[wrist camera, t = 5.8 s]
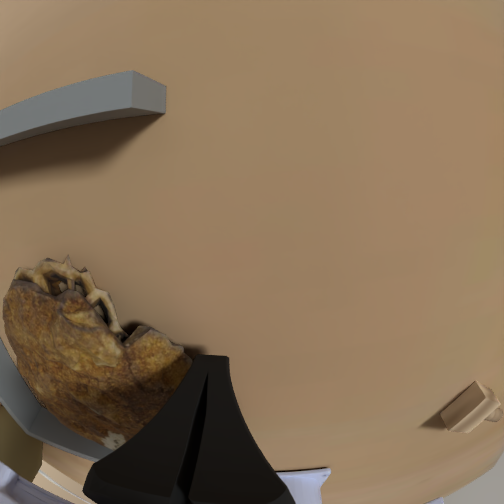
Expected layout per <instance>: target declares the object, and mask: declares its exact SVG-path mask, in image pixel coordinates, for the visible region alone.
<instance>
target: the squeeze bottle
mask: <svg viewBox="0 0 504 504" xmlns="http://www.w3.org/2000/svg"><path fill="white" fill-rule="evenodd" d="M42 448H43V442H42V441H40V440H38V439H36V438H34V437H32V436H30V435H28V434H26V433H25V432H24V431H23V429H22V428H21V427H20V426H19V425H18V424H17V422H16V421H15V420H14V419H13V418H12V416H11V415H10V414H9V413H8V411H7V410H6V409H5V407H4V406H3V405H2V406H0V461H1V462H3V463H4V464H6V465H7V466H8V467H10V468H11V469H12V470H14V471H15V472H16V473H17V474H18V475H19V476H21V477H23V478H24V479H26V480H28V481H29V482H31V483H32V482H33V479H34V478H35V476H36V474H37V473H38V471H39V469H40V467H41V465H42Z"/></svg>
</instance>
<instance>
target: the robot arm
mask: <svg viewBox="0 0 504 504" xmlns="http://www.w3.org/2000/svg"><path fill="white" fill-rule="evenodd" d="M330 473H331V469H329V468H326V469H317V470H307V471H295V472H277V473H276V472H275V471H274V469H273V468H272V467H271V465H270V464H269V463H268V461H267V460H266V458H265V457H264V455H263V453H262V452H261V450H260V449H259V447H258V446H257V444H256V442H255V440H254V439H253V437H252V435H251V433H250V431H249V429H248V427H247V425H246V423H245V420H244V418H243V416H242V413H241V411H240V408H239V406H238V403H237V400H236V397H235V393H234V390H233V387H232V382H231V377H230V369H229V358H228V357H227V356H217V355H200V354H198V355H196V356H195V358H194V360H193V362H192V364H191V366H190V368H189V370H188V371H187V373H186V375H185V376H184V378H183V379H182V381H181V382H180V384H179V385H178V387H177V388H176V390H175V391H174V393H173V394H172V395H171V397H170V398H169V399H168V401H167V402H166V403H165V404H164V406H163V407H162V408H161V409H160V410H159V412H158V413H157V414H156V415H155V416H154V417H153V418H152V419H151V420H150V421H149V422H148V423H147V424H146V425H145V426H144V427H143V428H142V429H141V430H140V431H139V432H138V433H137V434H135V435H134V436H133V437H132V438H131V439H129V440H128V441H127V442H126V443H124V444H123V445H122V446H120V447H119V448H118V449H116V450H115V451H113V452H112V453H110V454H109V455H107V456H105V457H104V458H102V459H100V460H99V461H97V462H95V463H94V464H93V465H92V467H91V469H90V471H89V473H88V475H87V477H86V481H85V484H84V487H83V490H82V491H83V493H84V494H85V495H86V496H87V497H88V498H90V499H91V500H92V501H94V502H95V503H97V504H322V500H321V492H320V487H321V485H322V484H323V483H324V481H325V480H326V479H327V477H328V476H329V475H330ZM0 504H74V503H71V502H69V501H67V500H65V499H63V498H60V497H58V496H56V495H54V494H52V493H50V492H48V491H46V490H44V489H42V488H40V487H38V486H37V485H35V484H33V483H31V482H29V481H28V480H26V479H24V478H23V477H21V476H19V475H18V474H17V473H16V472H15V471H14V470H12V469H11V468H10V467H8V466H7V465H6V464H4V463H3V462H1V461H0ZM424 504H444V501H443V498H442V497H439V498H436V499H434V500H432V501H429V502H427V503H424Z"/></svg>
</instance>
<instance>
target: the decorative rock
mask: <svg viewBox="0 0 504 504" xmlns="http://www.w3.org/2000/svg"><path fill="white" fill-rule="evenodd" d="M61 281H62V282H64V283H65V284H67V285H68V290H66V291H64V292H63V293H61V291H60V288H59V286H58V285H59V284H60V282H61ZM75 284H77V285H80V286H81V287H82V289H83V290H84V292H85V294H86V297H84V296H83V295H82V294H81V293H80V292H79V291H76V289H75ZM97 305H100V306H102V308H103V310H104V312H105V315H106V318H107V320H108V324H106V323H105V322H104V321H103V319H102V318H101V317H100V316H99V315H98V314H97V312H96V311H95V310H94V309H93V308H94V307H96V306H97ZM3 320H4V322H5V325H4V327H5V333H6V335H7V337H8V340H9V343H10V345H11V347H12V349H13V350H14V352H15V354H16V356H17V369H18V371H19V373H20V374H21V375H23V376H24V377H26V378H27V379H28V381H29V384H30V386H31V387H32V388H33V391H34V392H35V394H36V395H37V396H38V400H41V401H43V402H44V404H45V406H46V408H47V410H48V411H49V412H50V413H52V414H53V415H54V416H55V417H56V418H57V419H58V420H59V421H60V423H62V424H63V425H64V426H66V427H67V428H69V429H71V430H72V431H73V432H75V433H77V434H79V435H80V436H82V437H84V438H86V439H89V440H92V441H94V442H96V443H98V444H100V445H102V446H104V447H107V448H109V449H112V450H114V451H115V450H116V449H118V448H119V447H120V446H122V445H123V444H124V443H126V442H127V441H128V440H129V439H131V438H132V437H133V436H134V435H135V434H137V433H138V432H139V431H140V430H141V429H142V428H143V427H144V426H145V425H146V424H147V423H148V422H149V421H150V420H151V419H152V418H153V417H154V416H155V415H156V414H157V413H158V412H159V410H160V409H161V408H162V407H163V406H164V404H165V403H166V402H167V401H168V399H169V398H170V397H171V395H172V394H173V393H174V391H175V390H176V388H177V387H178V385H179V384H180V382H181V381H182V379H183V378H184V376H185V375H186V373H187V371H188V370H189V368H190V366H191V364H192V362H193V361H192V359H191V358H190V357H189V356H187V355H186V354H185V353H184V348H183V347H182V346H181V345H178V344H175V343H172V342H170V341H169V340H168V338H167V337H166V335H164V334H163V333H161V332H159V331H157V330H155V329H154V328H152V327H148V326H138V327H137V329H136V330H135V331H134V332H133V334H132V335H131V336H129V335H128V334H127V333H126V332H125V331H124V330H123V329H122V328H121V327H120V325H119V323H118V321H117V315H116V311H115V307H114V304H113V302H112V299H111V297H110V295H109V292H106V291H103V290H100V289H97V288H96V286H95V283H94V281H93V278H92V276H91V273H90V271H87V270H86V268H85V267H84V269H83V270H82V271H81V272H80V271H79V270H77V269H75V268H74V267H72V266H71V262H70V259H69V255H68V256H67V258H66V260H65V262H64V264H62V263H60V262H57V261H54V260H52V259H49V258H46V259H44V260H42V261H40V262H39V263H38V264H37V266H36V267H35V268H34V270H28V269H24V268H20V267H19V268H18V269H17V270H16V273H15V276H14V279H13V281H12V283H11V285H10V288H9V290H8V292H7V293H6V295H5V297H4V299H3Z"/></svg>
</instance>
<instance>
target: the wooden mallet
mask: <svg viewBox="0 0 504 504" xmlns="http://www.w3.org/2000/svg"><path fill="white" fill-rule="evenodd" d="M499 405H500V402H499V400H498V399H497V397H496V396H495V394H494V392H493V391H492V389H490V388H488V387H486V386H484V385H482V384H481V383H479V382H477V381H475V382H474V383H473V384H472V385H471V386H470V387H469V388H468V389H467V390H466V391H464V392H463V393H462V394H461V395H460V396H459V397H458V398H457V399H456V400H455V401H454V402H453V403H451V404H450V405H449V406H448V407H447V408H446V409H445V410H443V411H442V412H441V413H440V415H441V417H442V419H443V421H444V423H445V425H446V427H447V429H448V431H453V432H462V433H469V432H470V431H471V430H473V429H474V428H475V427H476V426H477V425H479V424H480V423H481V422H482V421H483V420H487V421H492V422H498V421H499V420H500V419H501V418H502V416H503V411H502V409H500V408H497V407H498V406H499Z"/></svg>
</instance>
